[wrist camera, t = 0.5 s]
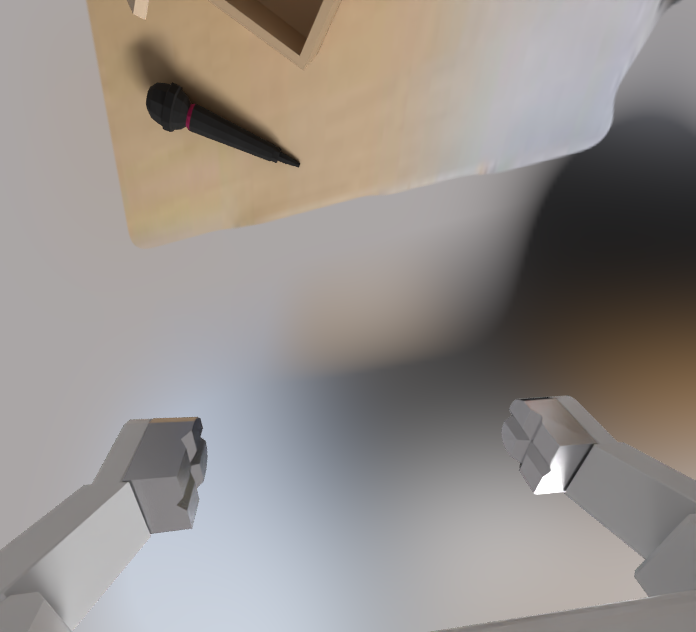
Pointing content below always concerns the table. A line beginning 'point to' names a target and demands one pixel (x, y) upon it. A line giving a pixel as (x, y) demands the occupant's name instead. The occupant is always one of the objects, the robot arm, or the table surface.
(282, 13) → the carton
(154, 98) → the microphone
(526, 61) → the table surface
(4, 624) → the robot arm
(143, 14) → the flap
